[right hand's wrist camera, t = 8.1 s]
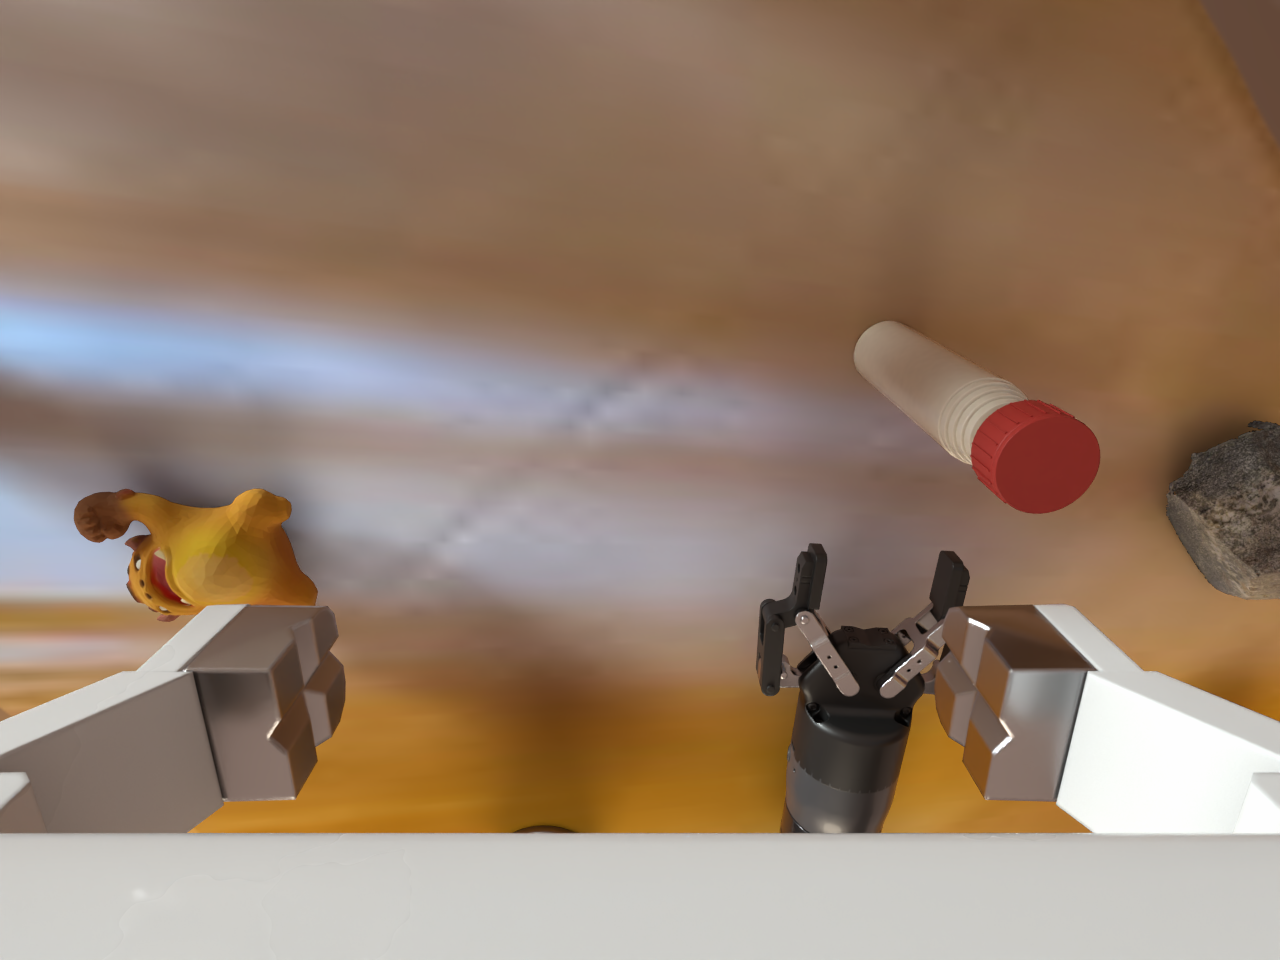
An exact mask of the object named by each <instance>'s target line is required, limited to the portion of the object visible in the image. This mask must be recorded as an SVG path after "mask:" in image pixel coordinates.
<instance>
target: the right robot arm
mask: <svg viewBox="0 0 1280 960" xmlns="http://www.w3.org/2000/svg"><path fill="white" fill-rule="evenodd" d="M338 636H339V635H338V630H337V625H336V620H335V615H334V613H333V612H332V611H331V610H330V609H329V607H328V606H293V605H250V604H228V605H211V606H206V607H205V608H204V609H203V610H202V611H201V612H200V613H199V614H198V615H197V616H195V617H194V618H193V619H192V620H191V621H190V622H189V623H188V624H187V625H186V626H185V627H183V628H182V629H181V630H180V631H179V632H178V633H177V634H176V635H175V636H174V637H173V638H172V639H170V640H169V641H168V642H167V643H166V644H165V645H164V646H163V647H162V648H161V649H160V650H158V651H157V652H156V653H155V654H154V655H153V656H152V657H151V658H150V659H149V660H148V661H146V662H145V663H144V664H143V665H142V666H141V667H140V668H139V669H138V670H137V671H123V672H120V673H118V674H115V675H113V676H111V677H108V678H106V679H103V680H101V681H98V682H96V683H94V684H91V685H89V686H86V687H84V688H81V689H79V690H76V691H74V692H72V693H69V694H67V695H64V696H62V697H59V698H57V699H54V700H52V701H50V702H47V703H45V704H42V705H40V706H37V707H35V708H33V709H30V710H28V711H25V712H23V713H20V714H18V715H15V716H13V717H11V718H8V719H6V720H3V721H1V722H0V960H1280V722H1279V721H1276V720H1274V719H1272V718H1269V717H1267V716H1264V715H1262V714H1259V713H1257V712H1255V711H1252V710H1250V709H1247V708H1245V707H1242V706H1240V705H1238V704H1235V703H1233V702H1230V701H1228V700H1225V699H1223V698H1221V697H1218V696H1216V695H1213V694H1211V693H1208V692H1206V691H1203V690H1201V689H1199V688H1196V687H1194V686H1191V685H1189V684H1186V683H1184V682H1182V681H1179V680H1177V679H1174V678H1172V677H1169V676H1167V675H1165V674H1162V673H1160V672H1157V671H1143V670H1142V669H1141V668H1140V667H1139V666H1138V665H1137V664H1136V663H1135V662H1134V661H1133V660H1131V659H1130V658H1129V657H1128V656H1127V655H1126V654H1125V653H1124V652H1123V651H1122V650H1121V649H1120V648H1118V647H1117V646H1116V645H1115V644H1114V643H1113V642H1112V641H1111V640H1110V639H1109V638H1108V637H1107V636H1105V635H1104V634H1103V633H1102V632H1101V631H1100V630H1099V629H1098V628H1097V627H1096V626H1095V625H1093V624H1092V623H1091V622H1090V621H1089V620H1088V619H1087V618H1086V617H1085V616H1084V615H1083V614H1082V613H1080V612H1079V611H1078V610H1077V609H1076V608H1075V607H1073V606H1070V605H1066V604H1047V605H999V606H959V607H952V608H949V610H948V612H947V614H946V617H945V619H944V624H943V630H942V635H941V636H942V638H943V639H944V641H945V642H946V644H947V646H948V647H949V649H950V650H951V651H950V652H949V653H948V654H947V655H946V656H945V657H944V658H943V659H942V660H941V662H940V663H939V664H938V665H937V668H936V676H935V685H934V691H935V701H936V709H937V712H938V716H939V719H940V722H941V724H942V726H943V728H944V730H945V732H946V733H947V735H948V737H949V738H951V739H953V740H954V741H956V742H957V743H959V744H961V745H962V746H964V747H965V748H964V754H963V760H962V761H963V763H964V765H965V766H966V768H967V770H968V772H969V773H970V775H971V777H972V778H973V780H974V782H975V783H976V785H977V787H978V789H979V790H980V792H981V794H982V795H983V797H984V799H985V800H1016V801H1053V802H1057V803H1056V805H1057V806H1058V807H1060V808H1061V809H1062V810H1064V811H1065V812H1066V813H1068V814H1069V815H1070V816H1072V817H1073V818H1074V819H1076V820H1077V821H1078V822H1080V823H1081V824H1082V825H1084V826H1085V827H1086V828H1088V829H1089V830H1090V831H1092V832H1093V833H187V832H189V831H190V830H191V829H193V828H194V827H195V826H197V825H198V824H199V823H201V822H202V821H203V820H205V819H206V818H207V817H209V816H210V815H211V814H213V813H214V812H215V811H217V810H218V809H219V808H221V807H222V806H223V805H224V803H223V802H227V801H262V800H295V799H296V797H297V796H298V794H299V792H300V790H301V789H302V787H303V785H304V784H305V782H306V780H307V778H308V777H309V775H310V773H311V772H312V770H313V768H314V766H315V765H316V763H317V761H318V760H317V754H316V748H315V747H316V746H318V745H319V744H321V743H323V742H324V741H326V740H327V739H329V738H331V737H332V735H333V733H334V731H335V730H336V728H337V726H338V724H339V722H340V719H341V715H342V711H343V707H344V703H345V685H346V681H345V674H344V667H343V665H342V664H341V663H340V662H339V660H338V659H337V658H336V657H335V656H334V655H333V654H332V653H331V652H330V651H329V650H330V649H331V647H332V646H333V644H334V643H335V641H336V639H337V638H338Z"/></svg>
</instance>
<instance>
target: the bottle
mask: <svg viewBox="0 0 1280 960" xmlns="http://www.w3.org/2000/svg"><path fill="white" fill-rule="evenodd" d="M854 363H855V367H856V369H857V371H858V373H859V374H860V375H861V376H862V377H863V378H864V379H865V380H866V381H867V382H868V383H869V384H871V385H872V386H873V387H874V388H875V389H876V390H877V391H879V392H880V393H881V394H882V395H883V396H884V397H885V398H887V399H888V400H889V401H890V402H891V403H892V404H893V405H895V406H896V407H897V408H898V409H899V410H900V411H901V412H902V413H904V414H905V415H906V416H907V417H908V418H909V419H910V420H912V421H913V422H914V423H915V424H916V425H917V426H918V427H920V428H921V429H922V430H923V431H924V432H925V433H926V434H927V435H929V436H930V437H931V438H932V439H933V440H934V441H935V442H937V443H938V444H939V445H940V446H941V447H942V448H943V449H945V450H946V451H947V452H948V453H949V454H950V455H952V456H953V457H955V458H956V459H958V460H960V461H962V462H964V463H966V464H969V465H972V462H971V457H970V455H971V447H972V442H973V439H974V436H975V434H976V432H977V430H978V429H979V427H980V426H981V424H982V423H983V422H984V421H985V419H986V418H988V416H990V415H991V414H992V413H993V412H995V411H996V410H997V409H999V408H1001V407H1003V406H1005V405H1008V404H1010V403H1013V402H1018V401H1024V400H1025V399H1026V400H1028V398H1027V396H1026V395H1025V394H1024V393H1023V392H1022V391H1021V390H1020V389H1019V388H1017V387H1016V386H1015V385H1014V384H1012V383H1011V382H1009V381H1007V380H1005V379H1004V378H1002V377H1000V376H998V375H996V374H994V373H993V372H991V371H989V370H987V369H985V368H983V367H982V366H980V365H978V364H976V363H974V362H973V361H971V360H969V359H967V358H965V357H963V356H962V355H960V354H958V353H956V352H954V351H952V350H951V349H949V348H947V347H945V346H943V345H941V344H940V343H938V342H936V341H934V340H932V339H930V338H929V337H927V336H925V335H923V334H921V333H919V332H918V331H916V330H914V329H912V328H910V327H909V326H907V325H905V324H903V323H900V322H897V321H884V322H880V323H877V324H875V325H873V326H871V327H870V328H868V329H867V330H866V331H865V332H864V333H863V334H862V335H861V337H860V338H859V340H858V342H857V344H856V346H855V350H854Z"/></svg>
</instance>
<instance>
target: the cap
mask: <svg viewBox="0 0 1280 960" xmlns="http://www.w3.org/2000/svg"><path fill="white" fill-rule="evenodd" d="M970 457H971V462H972V465H973V467H972V469H973V470H974V471H975V473H976V474H977V476H978V479H979V480H980V481H981V482H982V483H983V484H984V485H986V487H987V488H988V489H990V490H991V491H992V492H993V493H994V494H995V495H996V496H997V497H999V498H1000V499H1001V500H1002V501H1003V502H1004V503H1008V504H1009V505H1010V506H1012V507H1013V508H1015V509H1017V510H1020V511H1022V512H1026V513H1033V514H1041V513H1048V512H1053V511H1056V510H1059V509H1061V508H1064V507H1066V506H1068V505H1069V504H1071V503H1073V502H1074V501H1075V500H1077V499H1078V498H1079V497H1080V496H1081V495H1082V494H1083V493H1084V492H1085V491H1086V490H1087V489H1088V488H1089V486H1090V485H1091V483H1092V482H1093V480H1094V478H1095V476H1096V474H1097V471H1098V468H1099V464H1100V448H1099V444H1098V441H1097V439H1096V437H1095V435H1094V433H1093V432H1092V431H1091V430H1090V429H1089V428H1088V427H1087V426H1086V425H1085V424H1084V423H1082V422H1080V421H1079V420H1077V419H1075V417H1074V416H1072V415H1070V414H1069V413H1067V412H1065V411H1063V410H1061V409H1059V408H1058V407H1056V406H1054V405H1052V404H1046V403H1044V402H1042V401H1040V400H1037V401H1034V400H1026V399H1025V400H1024V401H1018V402H1013V403H1010V404H1008V405H1005V406H1003V407H1001V408H999V409H997V410H996V411H995V412H993V413H992V414H991V415H990V416H988V418H986V419H985V421H984V422H983V423H982V424H981V426H980V427H979V429H978V430H977V432H976V434H975V436H974V439H973V442H972V447H971V455H970Z"/></svg>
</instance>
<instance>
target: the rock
mask: <svg viewBox="0 0 1280 960" xmlns="http://www.w3.org/2000/svg"><path fill="white" fill-rule="evenodd" d="M1248 427H1253V428H1258V429H1263V430H1260V431H1253V430H1252V432H1250V431H1249V432H1247V433H1245V434H1242V435H1240V436H1238V439H1230V440H1228V441H1227V442H1224V443H1222V444H1218V445H1217V446H1215V447H1213V448H1210V449H1208V450H1207V451H1206V452H1201V453H1193V454H1192V455H1191V456H1192V457H1191V459H1192V463H1191V465H1190V467H1189V470H1188V471H1186V472H1185V474H1183V475H1184V476H1183V477H1180V478H1178V479H1177V480H1176V481H1173V482H1172V483H1170V486H1169V489H1170V492H1169V493H1168V494H1166V495H1167V498H1168V501H1167V502H1168V503H1169V504H1168V505H1166V506H1168V507H1166V510H1167V512H1166V513H1167V514H1166V516H1169V517H1168V518H1169V520H1170V522H1171V523H1172V525H1173V527H1174V529H1175V531H1176V534H1177V535H1179V539H1180V540H1181V542H1182V544H1183V545H1184V546H1185V548H1186V550H1187V552H1188V554H1190V556H1191V558H1192V559H1193V561H1194V562H1195V563H1196V565H1197V567H1198V569H1199V570H1200V571H1201V572H1202V573H1203V574H1204V575H1205V578H1206V579H1207V580H1208V582H1209V583H1211V584H1212V586H1214V587H1215V588H1216V589H1217V590H1219V591H1221V592H1224V593H1226V594H1230V595H1233V596H1237V597H1240V598H1243V599H1246V600H1249V599H1252V600H1261V599H1280V426H1279V425H1277V424H1276V423H1275V424H1274V423H1271V422H1270V423H1268V422H1266V423H1264V422H1261V421H1253V422H1252V423H1251V422H1250V423H1248ZM1264 429H1265V430H1264ZM1167 492H1168V491H1167ZM1174 492H1176V494H1177V495H1174ZM1256 573H1257V574H1256Z"/></svg>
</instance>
